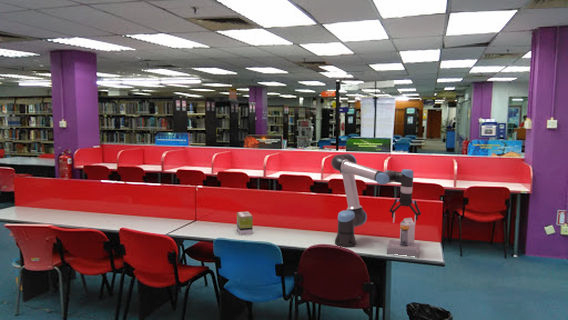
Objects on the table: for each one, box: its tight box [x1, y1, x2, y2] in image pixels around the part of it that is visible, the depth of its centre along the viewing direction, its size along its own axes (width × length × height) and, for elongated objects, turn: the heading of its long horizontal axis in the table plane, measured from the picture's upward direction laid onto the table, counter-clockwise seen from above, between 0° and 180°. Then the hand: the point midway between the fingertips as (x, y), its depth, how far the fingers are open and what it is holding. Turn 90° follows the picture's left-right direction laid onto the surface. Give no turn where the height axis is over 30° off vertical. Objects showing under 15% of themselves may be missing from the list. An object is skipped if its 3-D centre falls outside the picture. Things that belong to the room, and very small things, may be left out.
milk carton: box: [399, 217, 416, 243], centre depth 279 cm, size 7×7×19 cm
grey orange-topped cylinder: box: [399, 224, 409, 246], centre depth 262 cm, size 6×6×18 cm
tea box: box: [236, 211, 254, 236], centre depth 304 cm, size 15×10×15 cm
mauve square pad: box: [386, 239, 421, 258], centre depth 262 cm, size 20×20×6 cm
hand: (404, 223), depth 261 cm, fingers open, 13 cm apart
